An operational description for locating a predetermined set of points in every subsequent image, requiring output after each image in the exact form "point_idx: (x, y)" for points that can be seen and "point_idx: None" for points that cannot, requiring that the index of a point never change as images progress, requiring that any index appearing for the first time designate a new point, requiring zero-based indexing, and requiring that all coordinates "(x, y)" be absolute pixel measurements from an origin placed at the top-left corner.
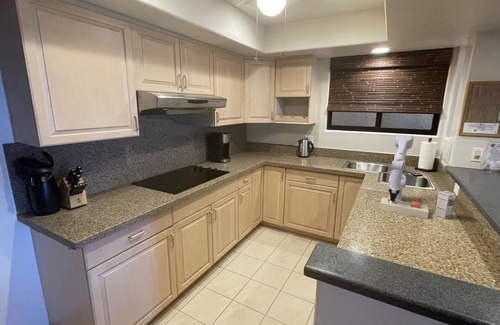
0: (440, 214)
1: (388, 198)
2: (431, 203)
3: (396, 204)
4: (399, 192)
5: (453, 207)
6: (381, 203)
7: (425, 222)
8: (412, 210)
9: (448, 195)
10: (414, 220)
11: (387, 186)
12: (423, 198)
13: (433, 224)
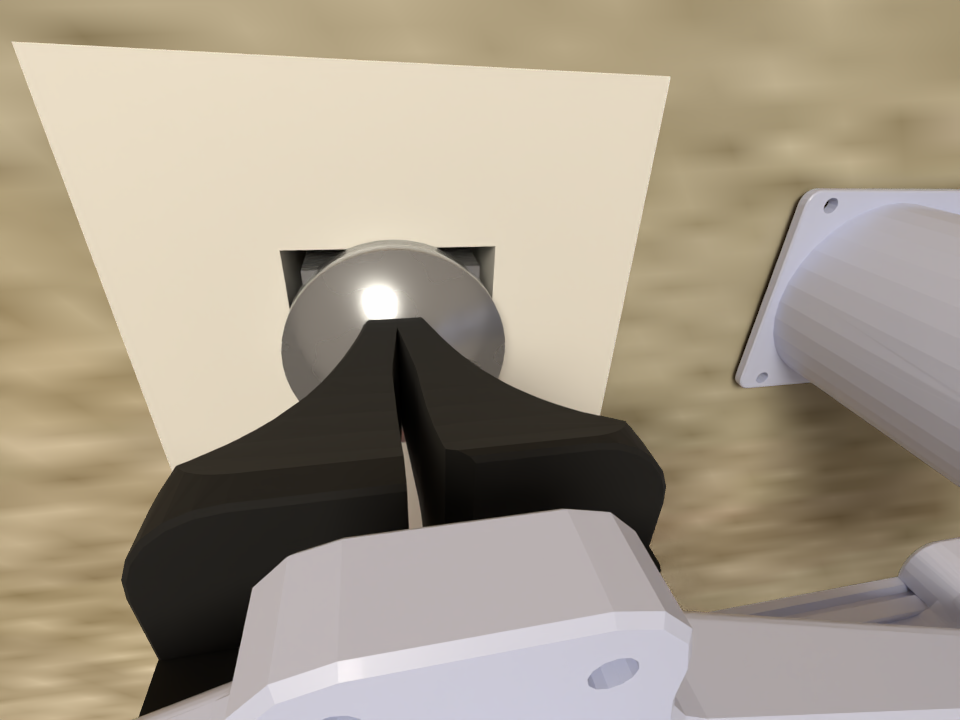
0: None
1: (627, 242)
2: (798, 589)
3: None
4: (916, 446)
5: None
6: (33, 75)
7: (133, 645)
8: None
9: None
10: (77, 575)
11: (252, 643)
12: (933, 530)
13: (146, 687)
